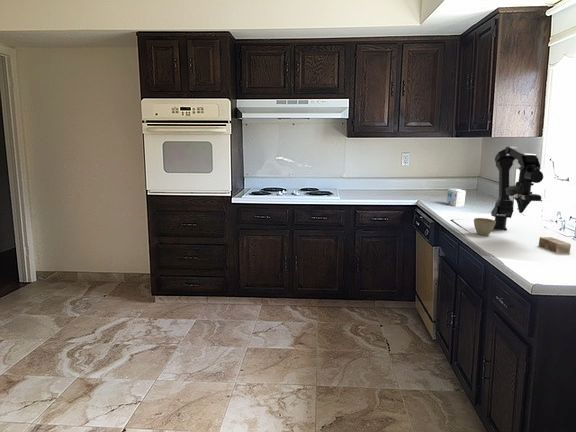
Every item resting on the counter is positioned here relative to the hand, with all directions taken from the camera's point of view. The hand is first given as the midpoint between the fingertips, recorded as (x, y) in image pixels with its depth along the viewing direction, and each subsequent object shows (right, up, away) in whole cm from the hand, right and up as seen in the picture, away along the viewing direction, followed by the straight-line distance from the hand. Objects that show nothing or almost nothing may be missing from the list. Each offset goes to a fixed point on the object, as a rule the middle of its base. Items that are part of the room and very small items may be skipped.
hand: (520, 212), depth 227 cm
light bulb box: (+1, +6, +93) cm, 93 cm away
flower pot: (-16, -11, +6) cm, 20 cm away
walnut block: (+5, -13, -13) cm, 19 cm away
